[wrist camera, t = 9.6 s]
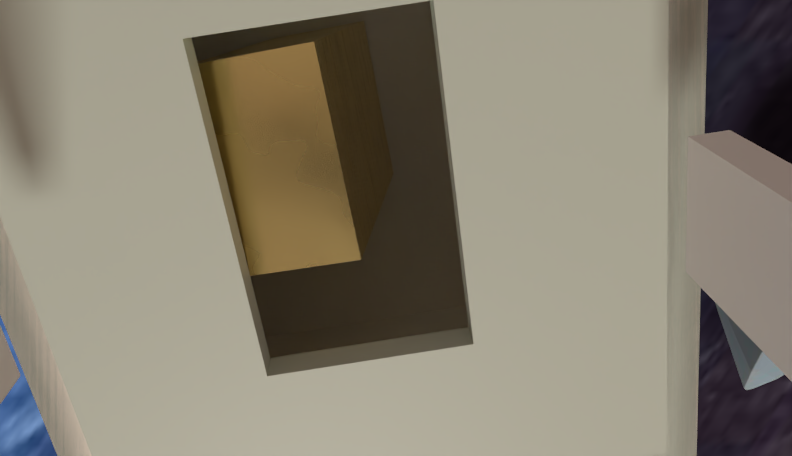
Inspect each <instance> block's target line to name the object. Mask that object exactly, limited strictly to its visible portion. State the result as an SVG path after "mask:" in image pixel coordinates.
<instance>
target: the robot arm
mask: <svg viewBox="0 0 792 456" xmlns="http://www.w3.org/2000/svg"><path fill="white" fill-rule="evenodd" d="M686 272H687V274H688V275H689V276H690V277H691V278H692V279H693V280H694V281H695V282H696V283H697V284H698V285H699V286H700V287H701V288H702V289H703V290H704V291H705V292H706V293H707V294H708V295H709V296H710V297H711V298H712V299H713V301H714V302H715V303H716V304H717V305H718V306H719V307H720V308H721V309H722V310H723V311H724V312H725V313H726V314H727V315H728V316H729V317H730V318H731V319H732V320H733V321H734V322H735V323H736V324H737V325H738V326H739V328H740V329H741V330H742V331H743V332H744V333H745V334H746V335H747V336H748V337H749V338H750V339H751V340H752V341H753V342H754V343H755V344H756V345H757V346H758V347H759V348H760V349H761V350H762V351H763V352H764V353H765V355H766V356H767V357H768V358H769V359H770V360H771V361H772V362H773V363H774V364H775V365H776V366H777V367H778V368H779V369H780V370H781V371H782V372H783V373H784V374H785V375H786V376H787V377H788V378H789V379H790V380H791V381H792V164H791V163H789V162H787V161H785V160H783V159H781V158H780V157H778V156H776V155H774V154H772V153H771V152H769V151H767V150H765V149H763V148H761V147H760V146H758V145H756V144H754V143H752V142H751V141H749V140H747V139H745V138H743V137H742V136H740V135H738V134H736V133H734V132H732V131H731V130H727V131H720V132H714V133H707V134H701V135H695V136H688V166H687V229H686ZM19 377H20V373H19V370H18V368H17V366H16V363H15V361H14V358H13V356H12V353H11V351H10V348H9V346H8V344H7V341H6V339H5V336H4V334H3V331H2V329H1V326H0V404H1V402H2V401H3V399H4V398H5V397H6V395H7V394H8V392H9V391H10V390H11V388H12V387H13V385H14V384H15V383H16V381H17V380H18V378H19Z"/></svg>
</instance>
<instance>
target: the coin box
mask: <svg viewBox="0 0 792 456" xmlns="http://www.w3.org/2000/svg"><path fill="white" fill-rule="evenodd" d="M707 12H708V0H0V315H1V317H2V320H3V322H4V325H5V327H6V330H7V332H8V335H9V337H10V340H11V342H12V345H13V347H14V349H15V352H16V354H17V357H18V359H19V362H20V364H21V367H22V369H23V372H24V374H25V377H26V379H27V382H28V384H29V386H30V389H31V391H32V394H33V396H34V399H35V401H36V404H37V406H38V409H39V411H40V414H41V416H42V418H43V421H44V423H45V426H46V428H47V431H48V433H49V436H50V438H51V441H52V443H53V446H54V448H55V451H56V453H57V455H58V456H696V453H697V413H698V373H699V333H700V293H701V287H700V286H699V285H698V284H697V283H696V282H695V281H694V280H693V279H692V278H691V277H690V276H689V275H688V274H687V272H686V229H687V166H688V136H695V135H701V134H704V132H705V92H706V52H707ZM360 21H364V24H365V30H366V35H367V40H368V45H369V50H370V55H371V60H372V66H373V71H374V76H375V81H376V86H377V91H378V96H379V102H380V107H381V112H382V117H383V122H384V127H385V132H386V138H387V143H388V148H389V153H390V158H391V163H392V168H393V173H394V174H393V176H392V179H391V182H390V184H389V187H388V190H387V192H386V195H385V198H384V200H383V203H382V206H381V208H380V211H379V214H378V216H377V219H376V222H375V224H374V227H373V230H372V232H371V235H370V238H369V240H368V243H367V246H366V248H365V251H364V254H363V256H362V259H361V260H356V261H349V262H343V263H336V264H329V265H322V266H315V267H308V268H301V269H295V270H288V271H281V272H274V273H267V274H260V275H253V276H250V273H249V269H248V265H247V261H246V257H245V253H244V249H243V245H242V241H241V237H240V233H239V228H238V224H237V220H236V216H235V212H234V208H233V204H232V200H231V196H230V192H229V188H228V184H227V180H226V176H225V172H224V168H223V163H222V159H221V155H220V151H219V147H218V143H217V139H216V135H215V131H214V127H213V123H212V119H211V115H210V111H209V107H208V102H207V98H206V94H205V90H204V86H203V82H202V78H201V74H200V70H199V66H198V61H202V60H205V59H208V58H211V57H214V56H218V55H221V54H224V53H227V52H231V51H234V50H237V49H240V48H243V47H247V46H250V45H253V44H256V43H260V42H263V41H266V40H269V39H272V38H278V37H283V36H288V35H293V34H298V33H303V32H309V31H314V30H319V29H324V28H329V27H334V26H340V25H345V24H350V23H355V22H360Z"/></svg>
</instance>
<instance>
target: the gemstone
mask: <svg viewBox="0 0 792 456" xmlns="http://www.w3.org/2000/svg"><path fill="white" fill-rule="evenodd" d="M715 304H716V303H715ZM716 307H717V310H718V313H719V316H720V319H721V322H722V325H723V328H724V331H725V334H726V337H727V340H728V343H729V346H730V349H731V352H732V355H733V357H734V360H735V363H736V366H737V369H738V372H739V375H740V378H741V381H742V384H743V387H744V389H745V390H749V389H753V388H756V387H758V386H760V385H763V384H765V383H768V382H770V381H773V380H775V379H777V378H779V377H781V376H783V375H784V373H783V372H782V371H781V370H780V369H779V368H778V367H777V366H776V365H775V364H774V363H773V362H772V361H771V360H770V359H769V358H768V357H767V356H766V355H765V353H764V352H763V351H762V350H761V349H760V348H759V347H758V346H757V345H756V344H755V343H754V342H753V341H752V340H751V339H750V338H749V337H748V336H747V335H746V334H745V333H744V332H743V331H742V330H741V329H740V328H739V326H738V325H737V324H736V323H735V322H734V321H733V320H732V319H731V318H730V317H729V316H728V315H727V314H726V313H725V312H724V311H723V310H722V309H721V308H720V307H719V306H718V305H717V304H716Z"/></svg>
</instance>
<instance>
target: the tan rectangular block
mask: <svg viewBox="0 0 792 456" xmlns="http://www.w3.org/2000/svg"><path fill="white" fill-rule="evenodd" d="M198 66H199V70H200V74H201V78H202V82H203V86H204V90H205V94H206V98H207V102H208V107H209V111H210V115H211V119H212V123H213V127H214V131H215V135H216V139H217V143H218V147H219V151H220V155H221V159H222V163H223V168H224V172H225V176H226V180H227V184H228V188H229V192H230V196H231V200H232V204H233V208H234V212H235V216H236V220H237V224H238V228H239V233H240V237H241V241H242V245H243V249H244V253H245V257H246V261H247V265H248V269H249V273H250V276H253V275H260V274H267V273H274V272H281V271H288V270H295V269H301V268H308V267H315V266H322V265H329V264H336V263H343V262H349V261H356V260H361V259H362V256H363V254H364V251H365V248H366V246H367V243H368V240H369V238H370V235H371V232H372V230H373V227H374V224H375V222H376V219H377V216H378V214H379V211H380V208H381V206H382V203H383V200H384V198H385V195H386V192H387V190H388V187H389V184H390V182H391V179H392V176H393V174H394V173H393V168H392V163H391V158H390V153H389V148H388V143H387V138H386V132H385V127H384V122H383V117H382V112H381V107H380V102H379V96H378V91H377V86H376V81H375V76H374V71H373V66H372V60H371V55H370V50H369V45H368V40H367V35H366V30H365V24H364V21H360V22H355V23H350V24H345V25H340V26H334V27H329V28H324V29H319V30H314V31H309V32H303V33H298V34H293V35H288V36H283V37H278V38H272V39H269V40H266V41H263V42H260V43H256V44H253V45H250V46H247V47H243V48H240V49H237V50H234V51H231V52H227V53H224V54H221V55H218V56H214V57H211V58H208V59H205V60H202V61H198Z"/></svg>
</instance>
